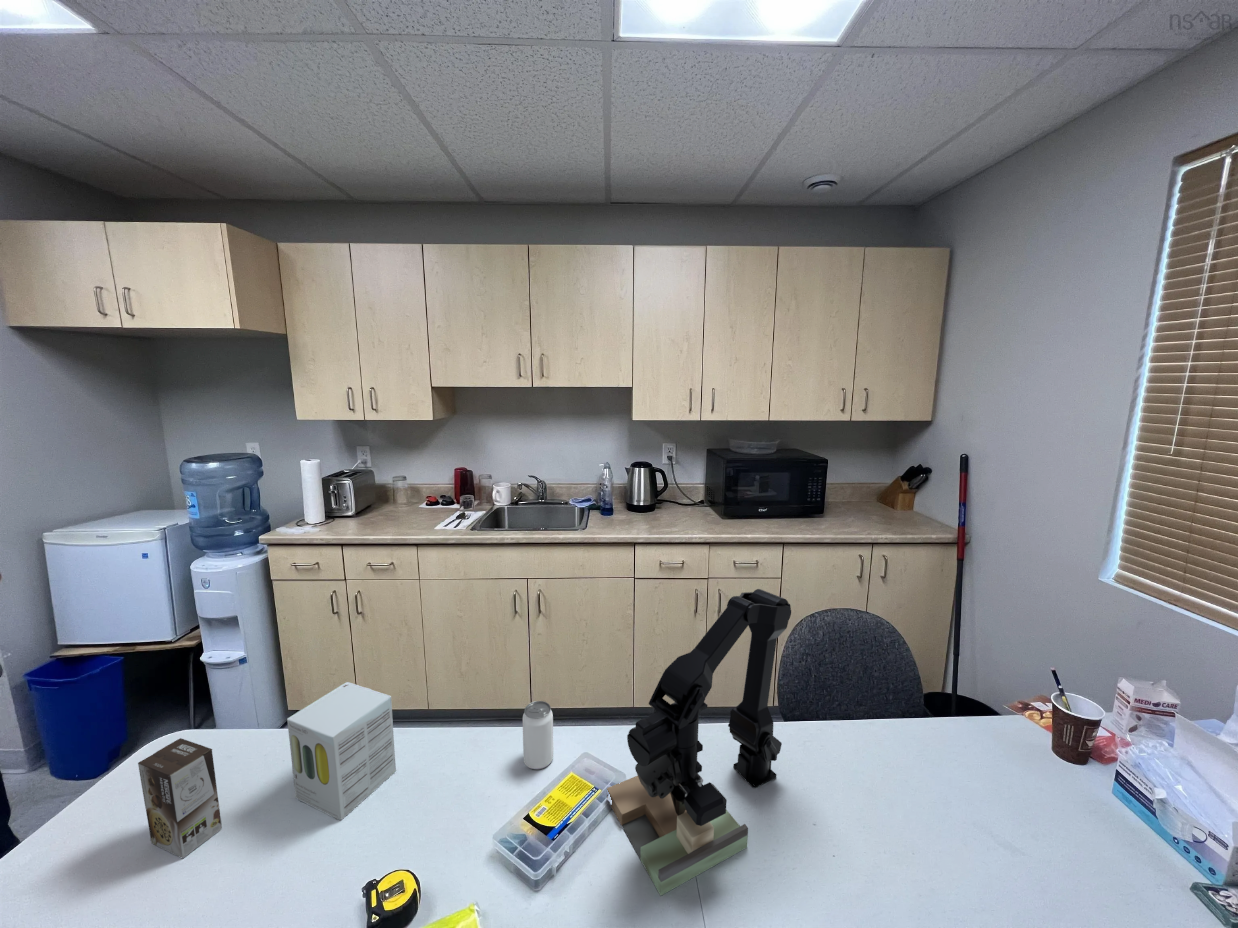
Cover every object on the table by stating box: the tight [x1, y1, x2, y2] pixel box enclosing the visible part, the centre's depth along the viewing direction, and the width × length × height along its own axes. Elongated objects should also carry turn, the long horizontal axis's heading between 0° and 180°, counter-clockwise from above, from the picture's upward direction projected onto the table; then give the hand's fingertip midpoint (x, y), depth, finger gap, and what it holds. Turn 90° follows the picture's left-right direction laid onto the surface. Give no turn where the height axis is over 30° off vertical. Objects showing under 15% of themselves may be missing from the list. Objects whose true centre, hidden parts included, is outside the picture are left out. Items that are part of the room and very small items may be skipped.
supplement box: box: [286, 681, 397, 821], centre depth 93 cm, size 13×13×18 cm
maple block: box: [676, 812, 714, 854], centre depth 80 cm, size 4×4×4 cm
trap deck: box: [606, 775, 749, 896], centre depth 86 cm, size 20×18×4 cm
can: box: [522, 700, 554, 770], centre depth 101 cm, size 6×6×12 cm
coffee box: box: [137, 737, 223, 859], centre depth 82 cm, size 9×6×16 cm
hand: (679, 813), depth 84 cm, fingers closed
